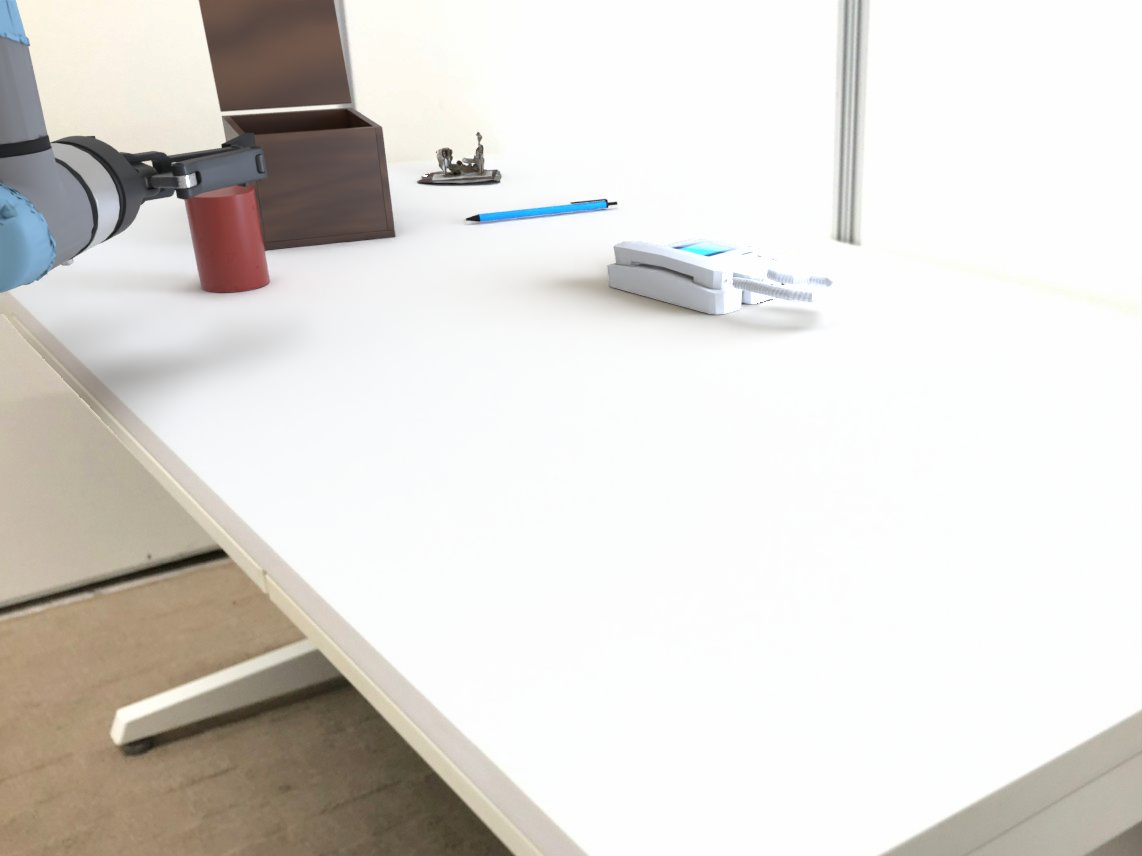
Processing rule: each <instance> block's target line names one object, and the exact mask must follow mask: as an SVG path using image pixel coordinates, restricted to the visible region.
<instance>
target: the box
mask: <svg viewBox="0 0 1142 856" xmlns="http://www.w3.org/2000/svg"><path fill="white" fill-rule="evenodd" d="M221 120H222V127H223V133H224V137H225V142H227V141H229V140H231V139H233V138H236V137H238V136H240V135H242V134H244V133H254V137H255V142H256V145H257V146H261V147H262V149H263V155H264V161H265V167H266V173H267V178H266V179H263V180H256V181H252V182H249V186H252V187H254V189H255V195H256V201H257V207H258V213H259V219H260V225H261V231H262V237H263V243H264V249H265V251H270V250H280V249H288V248H298V247H299V248H300V247H309V246H317V245H319V246H320V245H327V244H338V243H346V242H357V241H366V240H376V239H386V238H395V237H396V229H395V221H394V213H393V211H394V210H393V204H392V195H391V188H390V180H389V170H388V163H387V156H386V155H387V154H386V147H385V139H384V130H383V126H381V125H380V124H379V123H377V122H375V121H374V120H372V119H370V118H369V117H368V116H366V115H365V114H362V112H360V111H358V110H356V109H355V108H353V107H352V106H351V107H337V108H336V107H335V108H322V109H306V110H304V109H303V110H292V111H291V110H289V111H276V112H275V111H274V112H260V113H259V112H258V113H245V114H244V113H243V114H229V115H221Z"/></svg>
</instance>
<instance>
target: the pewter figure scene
mask: <svg viewBox="0 0 1142 856" xmlns="http://www.w3.org/2000/svg"><path fill="white" fill-rule="evenodd" d="M475 136H476V139H477V142H478V143H477V148H476V149H475V154H473V158H471V157H463V158H462V159H461V160H460V159H459V160H456V162H455V163H452V162H453V159H454V157H453V152H454V151H453V149H452V148H449V147H442V148H439V149H438V150H436V151H435V154H436V159H437V162H438V168H440V169H441V170H438V171H433V172H429V173H430V174H429V173H424V174H425V175H428V176H427V177H421V179H418V180H417V183H440V184H441V183H442V184H443V183H447V184H448V183H452V184H455V183H456V184H467V183H468V184H469V183H478V182H479V183H481V182H489V181H496V182H501V179H502V174H501V171H500V170H499V169H486V168H485V158H484V146H483V145H484V144H481V141H482V139H483V135H482V134H481V133H480V132H479V131H477V132H476V134H475ZM466 164H467V165H466ZM448 170H449V171H448Z"/></svg>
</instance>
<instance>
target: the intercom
mask: <svg viewBox="0 0 1142 856" xmlns="http://www.w3.org/2000/svg"><path fill="white" fill-rule="evenodd" d="M613 251H614V259H615V262H614V263H610V264H607V265H606V268H607V278H608V280H607V281H608V286H609V287H610V288H613V289H618V290H620V291H624V292H627V293H630V294H631V293H632V294H635V295H639V296H643V297H646V298H650V299H654V300H656V301H661V302H665V303H669V304H672V305H675V306H679V307H682V308H686V309H690V310H693V311H697V312H701V313H704V314H708V315H714V316H715V315H725V314H729V313H732V312H736V311H739V310H740V309H741V308H742V304H746V305H747V304H748V305H756V304H757V303H758V304H761V303H760V302H763V303H765V302H764V301H766V300H768V299H770V298H776V299H777V300H778V299H779V300H784V301H788V302H789V301H790V302H800V303H801V302H802V303H803V302H804V303H815V302H819V301H825V300H829V299H835V298H837V296H838V295H839V292H840V289H841V282H839V281H838V280H837V279H836V278H835V277H834V276H832V275H828V274H821V273H820V274H819V273H813V272H808V271H809V270H808V269H809V264H807V261H806V260H805V259H804V258H802V257H797V256H792V255H789V254H784V253H780V252H775V251H770V250H766V249H762V248H757V247H753V246H746V247H745V246H744V247H742V246H739V245H738V246H737V245H733V244H729V243H725V242H720V241H716V240H711V239H707V238H691V239H687V240H683V241H678V242H675V243H670V244H666V245H661V244H655V243H651V242H645V241H622V242H619V243H616V244H614V245H613ZM799 285H806V286H815V287H816V286H818V287H821V288H815V289H805V290H801V289H792V288H794V287H796V286H799ZM766 302H767V301H766ZM758 304H757V305H758Z"/></svg>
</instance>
